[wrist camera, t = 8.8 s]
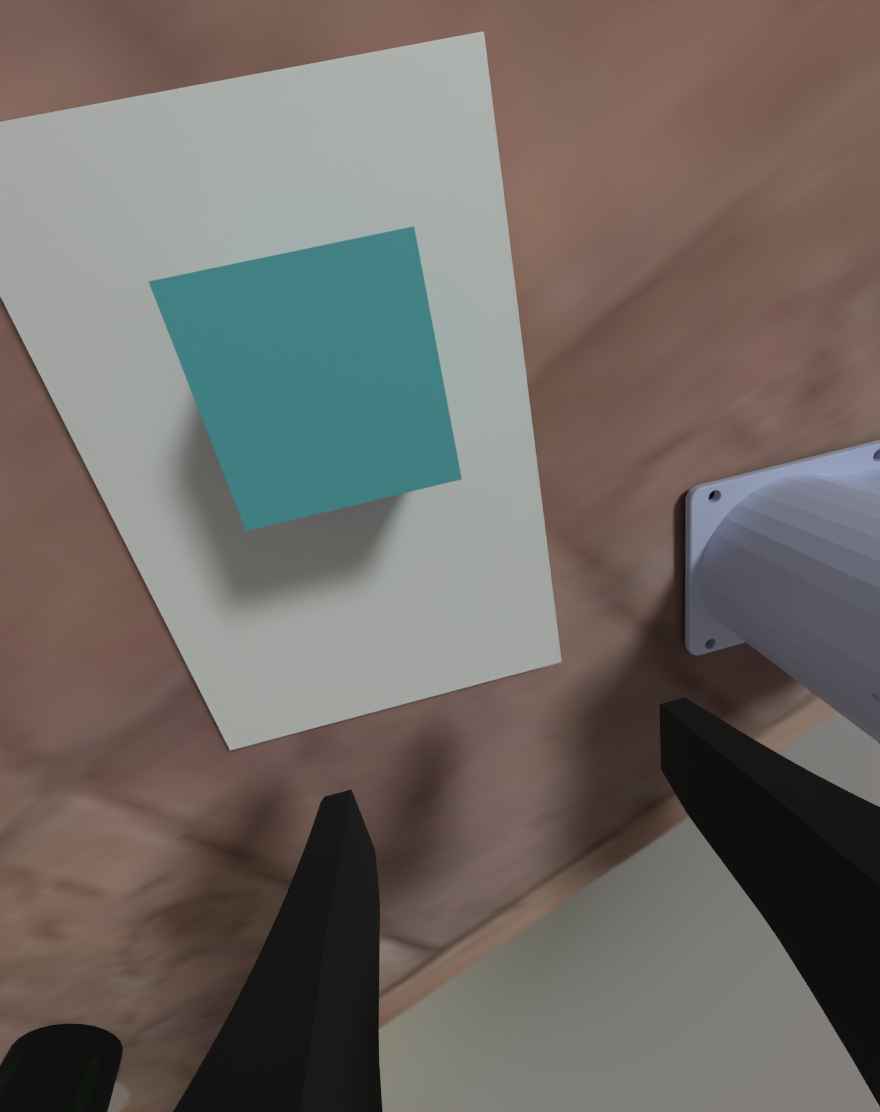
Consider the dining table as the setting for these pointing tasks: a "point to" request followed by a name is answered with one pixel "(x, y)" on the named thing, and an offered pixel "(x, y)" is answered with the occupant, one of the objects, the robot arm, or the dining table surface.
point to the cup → (60, 1070)
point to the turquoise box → (315, 375)
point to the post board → (176, 424)
